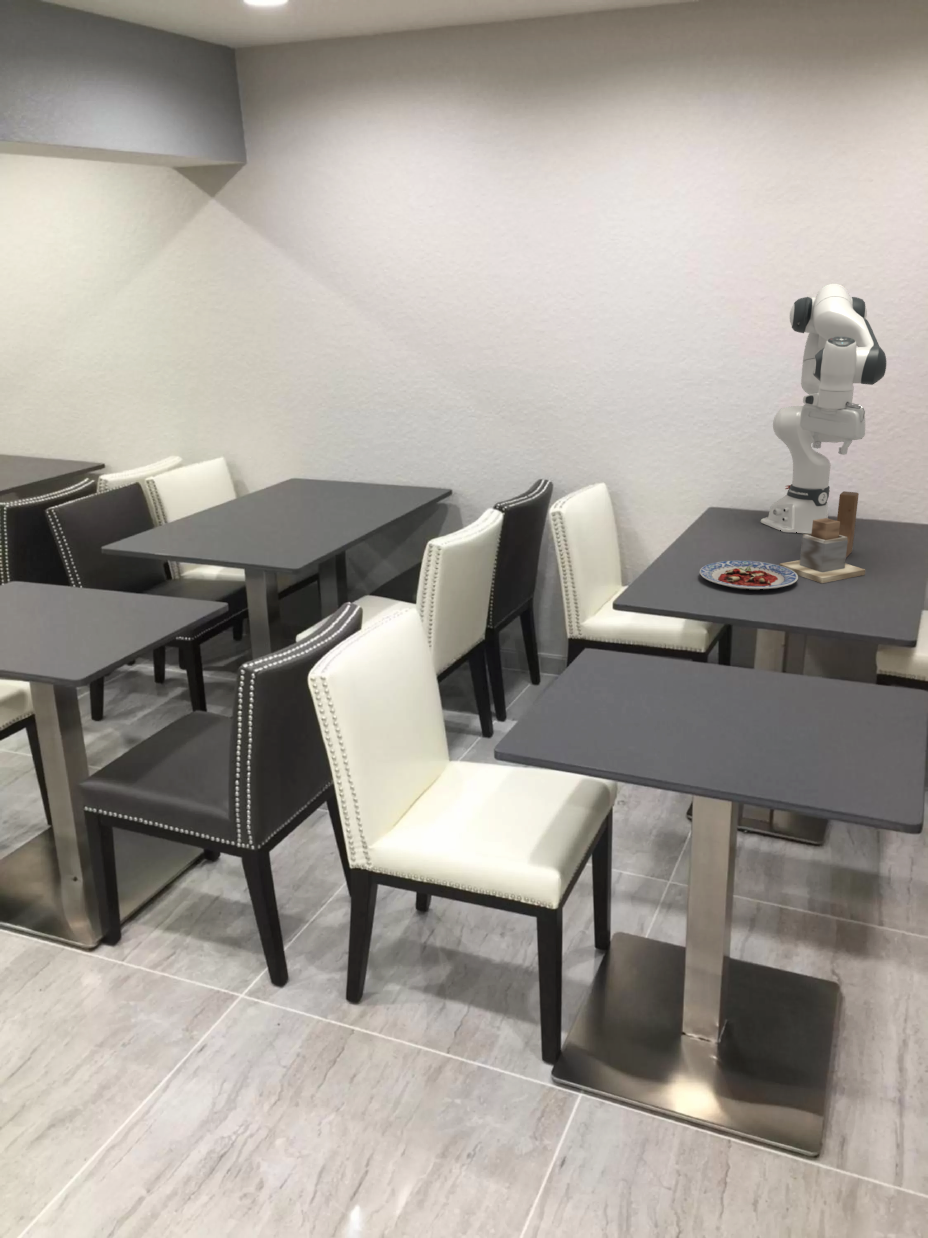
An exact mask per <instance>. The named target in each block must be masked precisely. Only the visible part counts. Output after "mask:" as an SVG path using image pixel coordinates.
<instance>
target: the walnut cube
mask: <svg viewBox="0 0 928 1238" xmlns="http://www.w3.org/2000/svg"><path fill="white" fill-rule="evenodd" d="M839 528H840V522H839V521H837V519H836V520H835V519H831V518H829V517H828V518H823V519H817V520H813V524H812V534H811V536H812V537H816V538H819V539H823V540H830V539H836V538H838V537H839Z"/></svg>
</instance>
